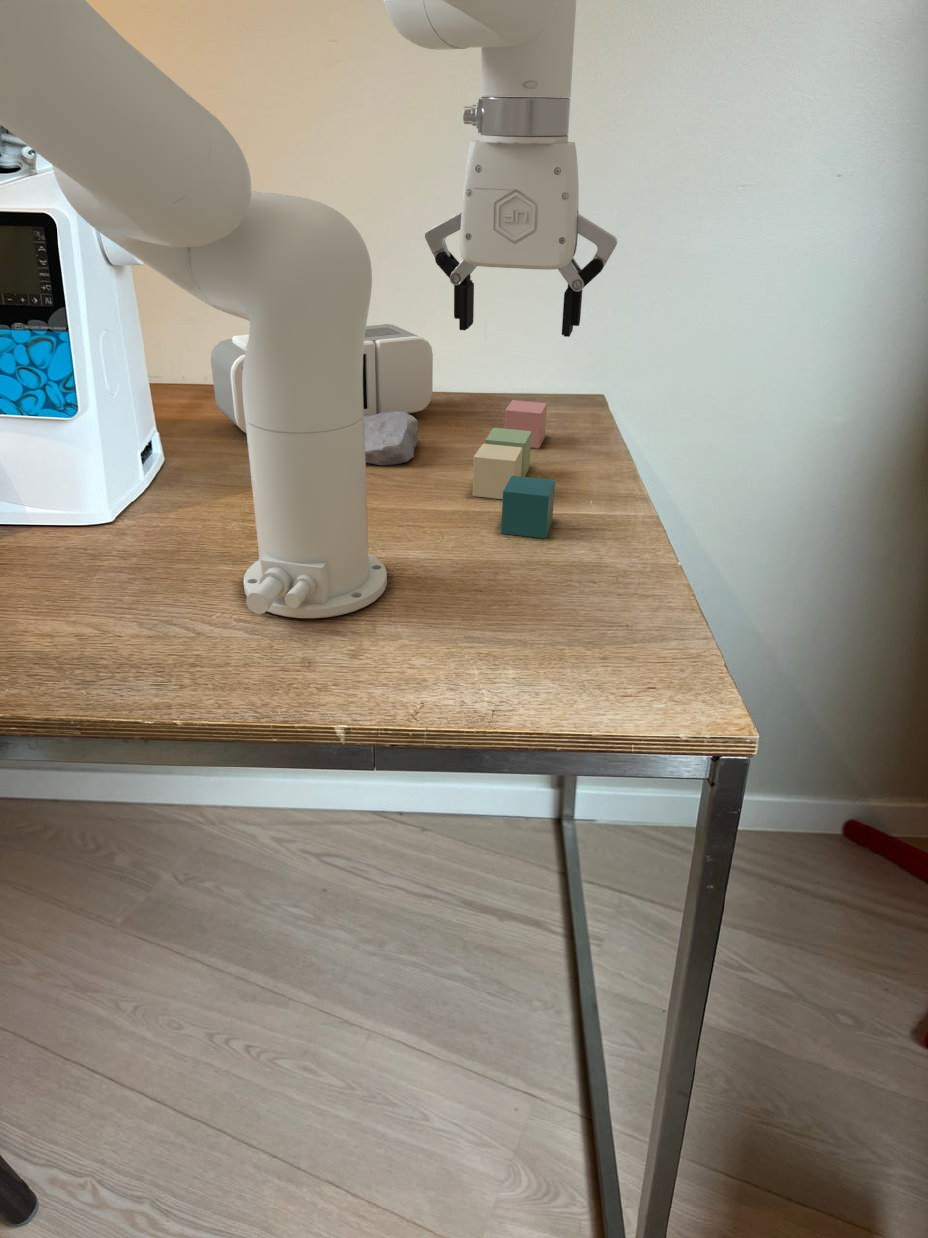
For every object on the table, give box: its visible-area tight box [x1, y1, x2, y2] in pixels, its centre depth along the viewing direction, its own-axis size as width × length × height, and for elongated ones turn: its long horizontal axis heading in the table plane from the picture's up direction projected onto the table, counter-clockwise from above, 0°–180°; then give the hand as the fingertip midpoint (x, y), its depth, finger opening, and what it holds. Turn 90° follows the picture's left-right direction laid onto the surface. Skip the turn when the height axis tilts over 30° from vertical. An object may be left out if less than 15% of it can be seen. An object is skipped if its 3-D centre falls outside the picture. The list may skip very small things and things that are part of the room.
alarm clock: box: [210, 323, 434, 434], centre depth 119 cm, size 27×9×12 cm, turn 120°
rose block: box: [504, 399, 548, 449], centre depth 116 cm, size 5×5×5 cm
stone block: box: [364, 412, 419, 466], centre depth 111 cm, size 12×5×10 cm
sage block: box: [484, 427, 532, 477], centre depth 105 cm, size 5×5×5 cm
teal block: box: [500, 476, 556, 539], centre depth 92 cm, size 5×5×5 cm
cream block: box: [472, 443, 523, 500], centre depth 100 cm, size 5×5×5 cm
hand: (516, 330), depth 85 cm, fingers open, 9 cm apart
